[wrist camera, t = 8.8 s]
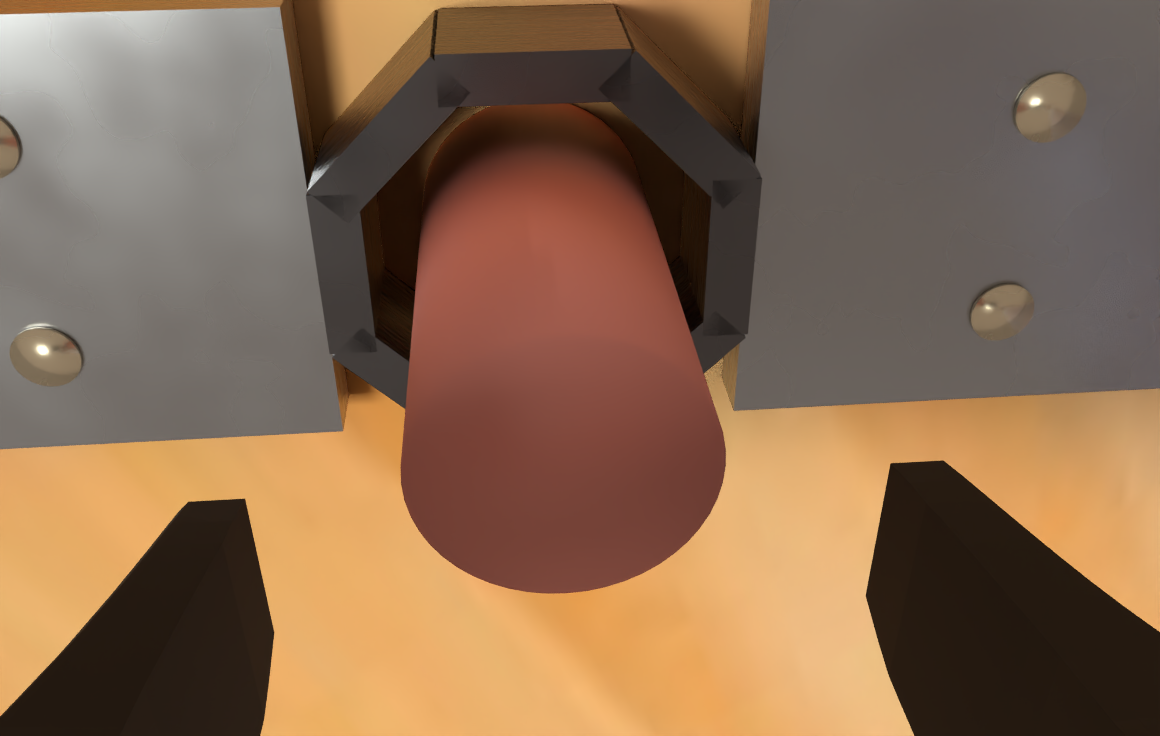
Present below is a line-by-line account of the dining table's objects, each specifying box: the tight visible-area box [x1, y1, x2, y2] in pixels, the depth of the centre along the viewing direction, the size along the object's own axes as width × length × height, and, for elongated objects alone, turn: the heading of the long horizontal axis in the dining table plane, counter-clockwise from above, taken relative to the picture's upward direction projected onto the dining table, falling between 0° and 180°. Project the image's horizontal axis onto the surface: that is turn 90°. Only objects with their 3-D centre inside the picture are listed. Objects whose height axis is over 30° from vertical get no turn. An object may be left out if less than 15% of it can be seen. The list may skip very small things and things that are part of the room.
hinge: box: [0, 0, 1160, 449], centre depth 19 cm, size 8×28×2 cm, turn 90°
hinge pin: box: [401, 103, 726, 593], centre depth 17 cm, size 4×4×8 cm
